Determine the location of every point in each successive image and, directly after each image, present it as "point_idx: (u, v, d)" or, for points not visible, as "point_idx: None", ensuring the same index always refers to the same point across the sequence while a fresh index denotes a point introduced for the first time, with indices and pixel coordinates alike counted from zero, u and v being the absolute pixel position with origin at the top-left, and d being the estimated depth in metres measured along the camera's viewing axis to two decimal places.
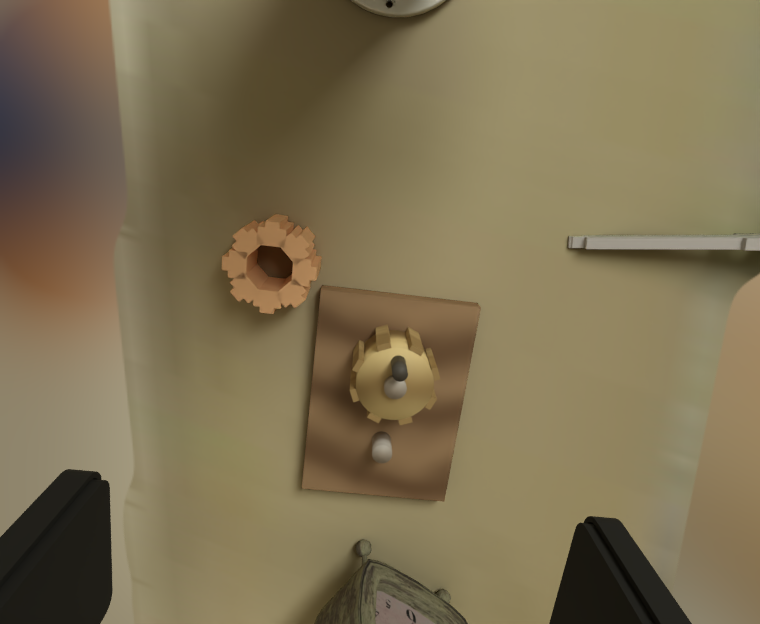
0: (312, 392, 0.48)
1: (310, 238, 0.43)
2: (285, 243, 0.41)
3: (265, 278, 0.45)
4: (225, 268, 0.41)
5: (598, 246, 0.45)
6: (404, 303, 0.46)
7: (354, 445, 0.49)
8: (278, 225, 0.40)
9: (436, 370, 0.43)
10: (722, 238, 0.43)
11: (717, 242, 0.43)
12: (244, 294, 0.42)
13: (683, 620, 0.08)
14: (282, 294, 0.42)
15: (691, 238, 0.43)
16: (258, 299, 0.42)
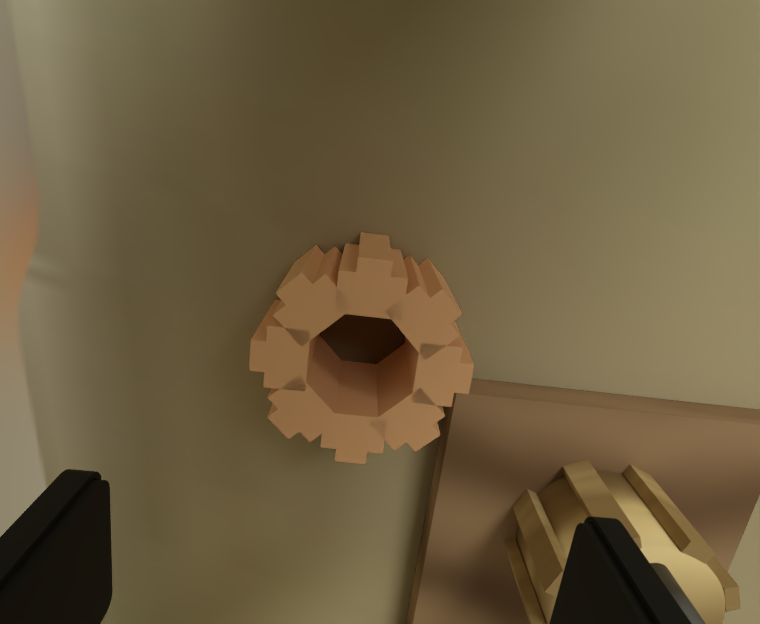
0: (423, 582, 0.24)
1: (449, 290, 0.19)
2: (404, 309, 0.17)
3: (338, 368, 0.21)
4: (258, 367, 0.17)
5: None
6: (629, 419, 0.22)
7: None
8: (389, 267, 0.16)
9: (735, 591, 0.19)
10: None
11: None
12: (301, 423, 0.18)
13: (683, 620, 0.08)
14: (389, 423, 0.18)
15: None
16: (333, 433, 0.18)
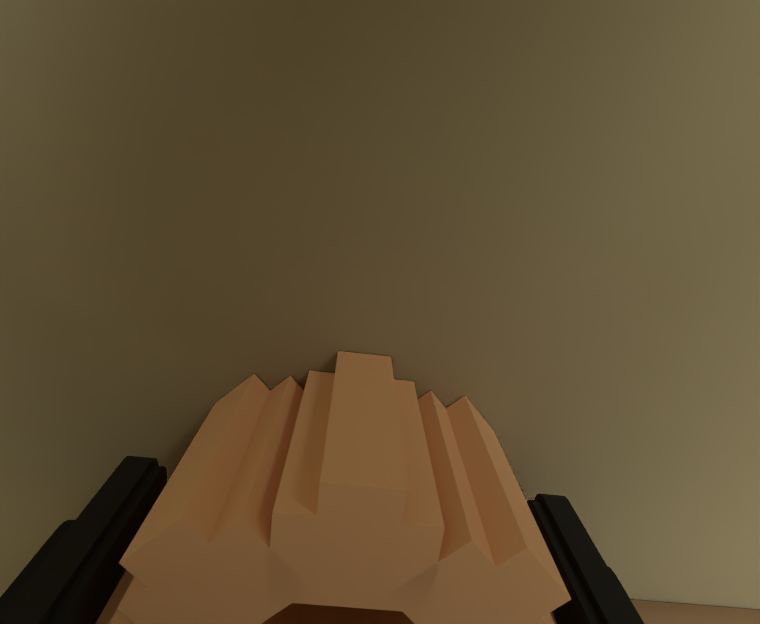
0: None
1: (518, 492, 0.09)
2: (434, 590, 0.07)
3: None
4: None
5: None
6: None
7: None
8: (398, 505, 0.07)
9: None
10: None
11: None
12: None
13: (612, 585, 0.08)
14: None
15: None
16: None
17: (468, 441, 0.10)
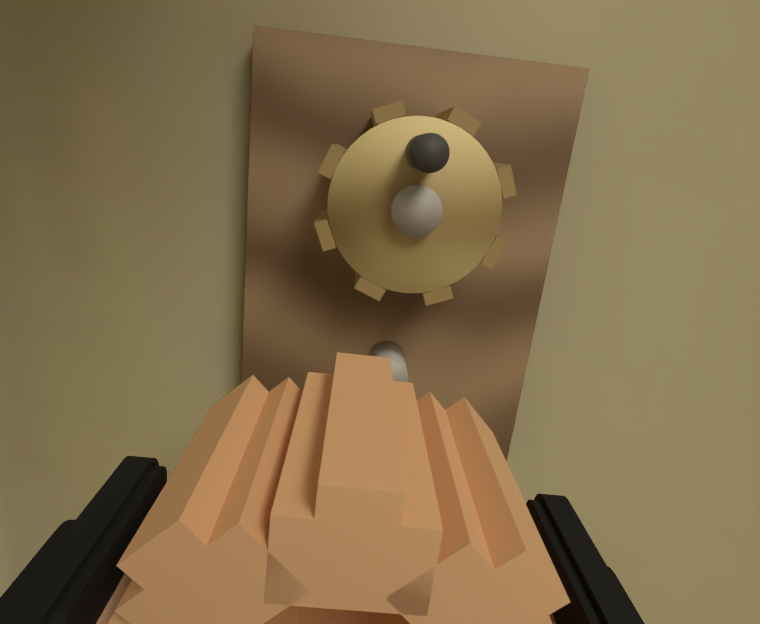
0: (248, 261, 0.24)
1: (517, 494, 0.09)
2: (433, 593, 0.07)
3: None
4: None
5: None
6: (430, 59, 0.22)
7: None
8: (397, 507, 0.07)
9: (508, 172, 0.19)
10: None
11: None
12: None
13: (612, 585, 0.08)
14: None
15: None
16: None
17: (467, 443, 0.10)
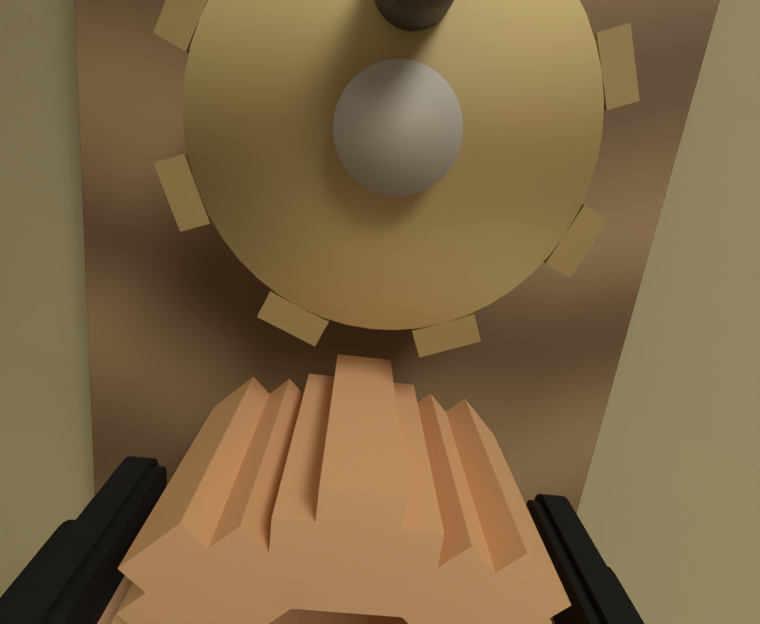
0: (90, 255, 0.13)
1: (518, 496, 0.09)
2: (433, 596, 0.07)
3: None
4: None
5: None
6: None
7: None
8: (398, 510, 0.07)
9: (624, 42, 0.08)
10: None
11: None
12: None
13: (612, 585, 0.08)
14: None
15: None
16: None
17: (468, 445, 0.10)
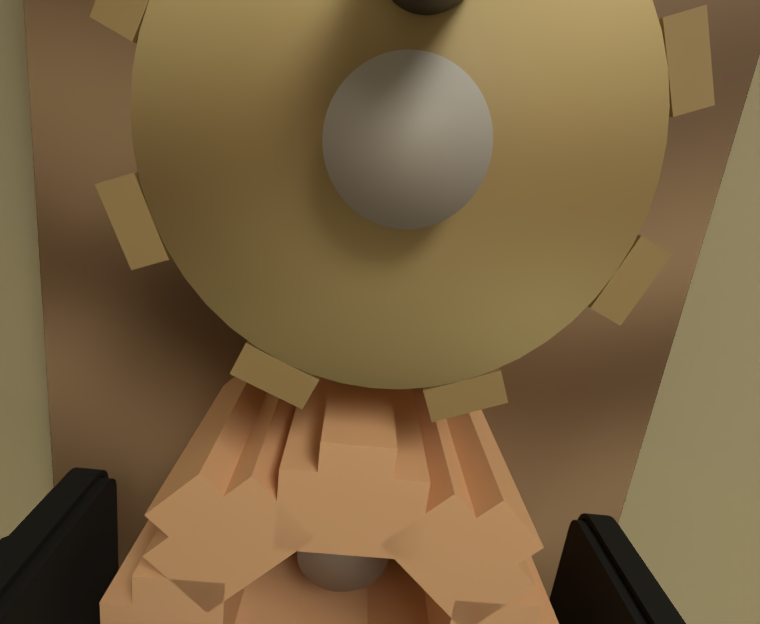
0: (47, 284, 0.11)
1: (501, 460, 0.10)
2: (422, 540, 0.08)
3: None
4: None
5: None
6: None
7: None
8: (389, 462, 0.08)
9: (697, 30, 0.06)
10: None
11: None
12: None
13: (674, 615, 0.08)
14: None
15: None
16: None
17: (456, 416, 0.11)
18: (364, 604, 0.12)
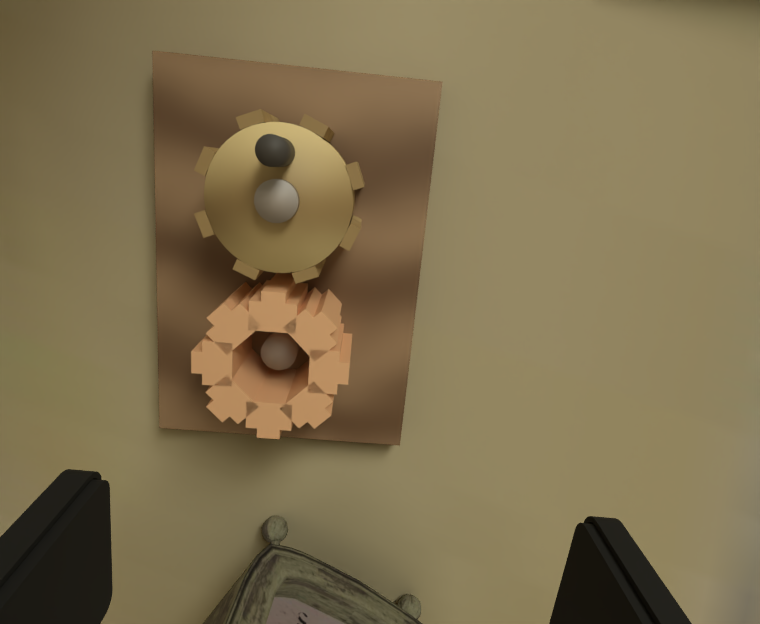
0: (158, 252, 0.28)
1: (336, 312, 0.26)
2: (296, 326, 0.24)
3: (265, 372, 0.28)
4: (197, 370, 0.25)
5: None
6: (305, 75, 0.26)
7: None
8: (283, 297, 0.24)
9: (355, 168, 0.22)
10: None
11: None
12: (230, 410, 0.25)
13: (683, 620, 0.08)
14: (293, 408, 0.25)
15: None
16: (254, 417, 0.25)
17: (322, 298, 0.27)
18: (291, 382, 0.28)
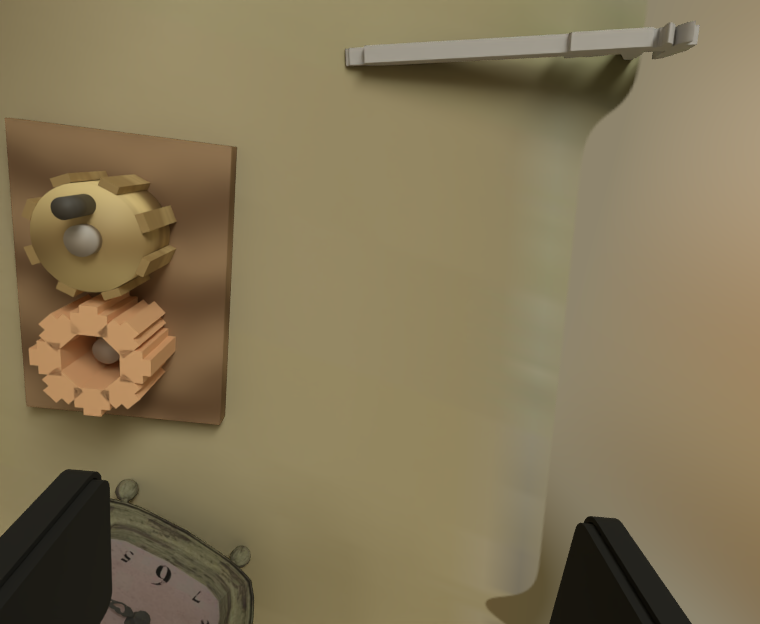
0: (18, 270, 0.35)
1: (148, 320, 0.34)
2: (107, 331, 0.32)
3: (103, 365, 0.36)
4: (34, 363, 0.33)
5: (380, 58, 0.32)
6: (124, 139, 0.33)
7: None
8: (96, 310, 0.32)
9: (142, 217, 0.30)
10: (541, 36, 0.31)
11: (535, 43, 0.31)
12: (62, 393, 0.33)
13: (683, 620, 0.08)
14: (110, 393, 0.33)
15: (500, 39, 0.31)
16: (80, 399, 0.33)
17: (142, 309, 0.35)
18: None
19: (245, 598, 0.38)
